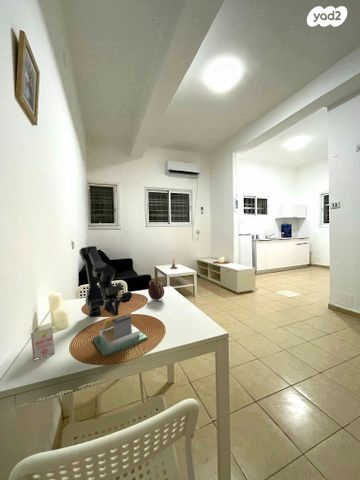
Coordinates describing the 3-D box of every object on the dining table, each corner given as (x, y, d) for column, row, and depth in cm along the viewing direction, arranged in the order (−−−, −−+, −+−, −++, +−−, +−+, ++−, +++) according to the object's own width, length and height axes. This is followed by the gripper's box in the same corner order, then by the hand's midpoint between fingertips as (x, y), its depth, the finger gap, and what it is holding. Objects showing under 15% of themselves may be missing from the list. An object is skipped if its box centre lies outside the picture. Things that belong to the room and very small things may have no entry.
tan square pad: (101, 328, 86) (105, 319, 80) (125, 320, 93) (130, 311, 87) (102, 330, 85) (106, 321, 80) (126, 322, 92) (131, 313, 87)
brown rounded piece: (165, 300, 129) (164, 277, 128) (160, 302, 125) (159, 279, 124) (152, 297, 135) (151, 276, 134) (147, 300, 131) (146, 278, 130)
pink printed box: (33, 356, 77) (31, 331, 76) (54, 349, 81) (51, 325, 80) (33, 360, 74) (30, 335, 73) (54, 353, 78) (52, 328, 77)
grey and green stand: (92, 340, 86) (90, 316, 85) (131, 325, 97) (129, 304, 96) (104, 358, 73) (102, 329, 73) (147, 339, 84) (145, 314, 84)
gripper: (88, 283, 83) (97, 317, 75) (129, 274, 94) (141, 303, 87) (84, 296, 90) (93, 329, 82) (124, 287, 101) (134, 315, 93)
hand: (117, 318), depth 86 cm, fingers closed, pressing on tan square pad
